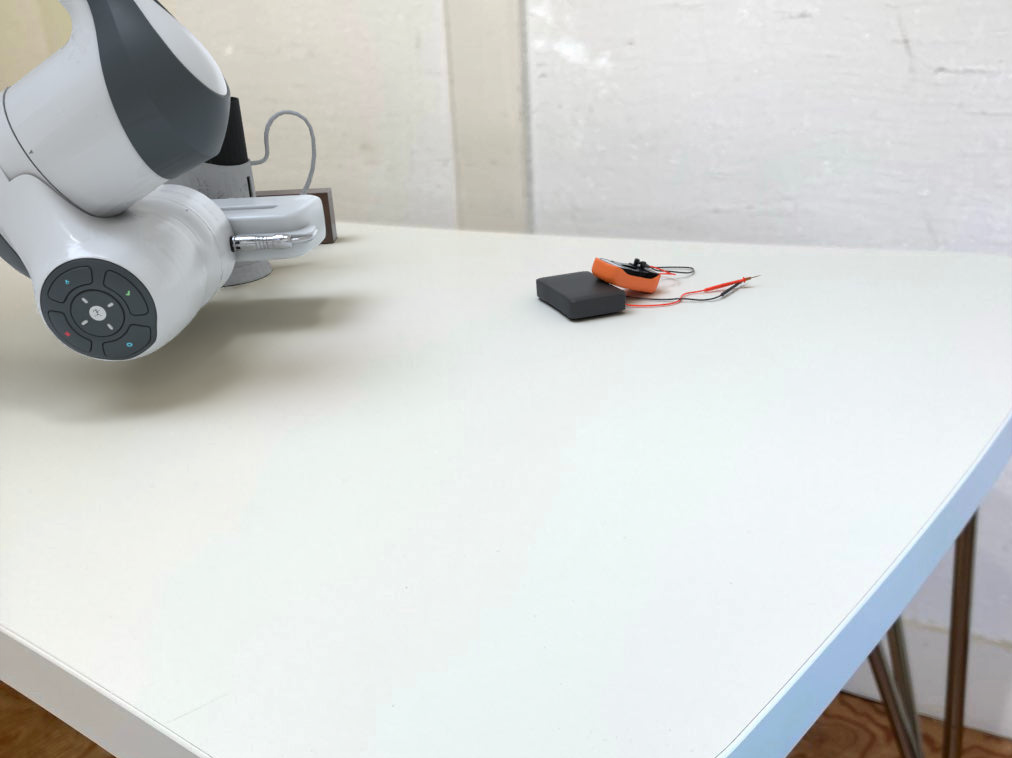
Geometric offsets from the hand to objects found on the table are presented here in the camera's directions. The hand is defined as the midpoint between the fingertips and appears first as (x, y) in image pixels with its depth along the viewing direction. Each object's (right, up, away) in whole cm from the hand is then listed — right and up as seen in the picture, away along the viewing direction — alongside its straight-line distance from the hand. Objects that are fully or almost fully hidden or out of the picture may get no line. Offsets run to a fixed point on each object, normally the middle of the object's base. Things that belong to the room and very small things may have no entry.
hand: (219, 208), depth 92 cm
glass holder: (+1, -4, +7) cm, 8 cm away
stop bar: (0, +1, +17) cm, 17 cm away
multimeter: (+36, -8, -4) cm, 37 cm away
